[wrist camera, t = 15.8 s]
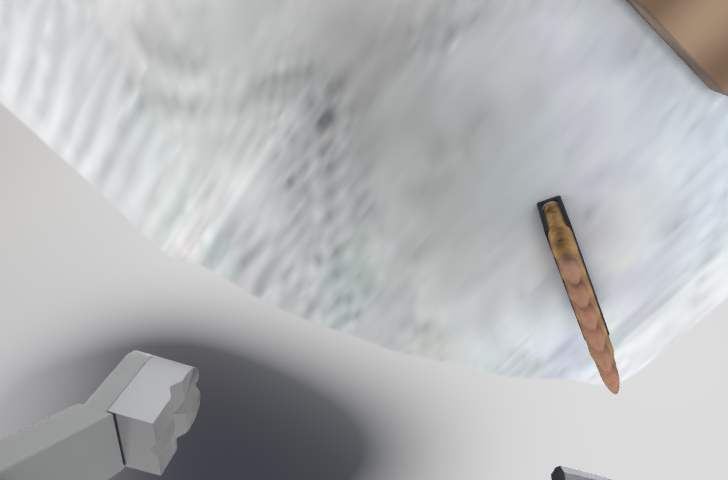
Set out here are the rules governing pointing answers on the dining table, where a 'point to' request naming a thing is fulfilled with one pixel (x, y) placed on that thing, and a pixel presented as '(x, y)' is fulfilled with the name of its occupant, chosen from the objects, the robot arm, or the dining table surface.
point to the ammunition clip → (579, 288)
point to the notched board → (693, 34)
